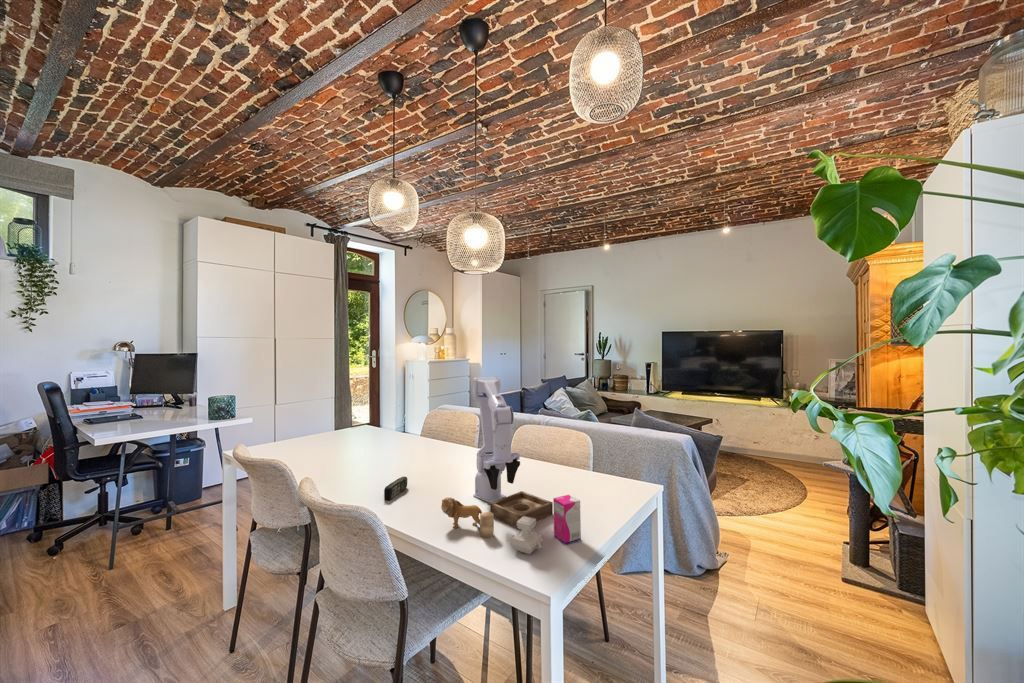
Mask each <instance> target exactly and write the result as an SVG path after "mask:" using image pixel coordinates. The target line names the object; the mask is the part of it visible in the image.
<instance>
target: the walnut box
mask: <svg viewBox="0 0 1024 683" xmlns="http://www.w3.org/2000/svg"><path fill="white" fill-rule="evenodd" d="M489 508H490V509H489V512H491V513H493V514H494V519H497V520H499V521H501V522H503V523H504V524H508V525H510V526H512V527H515V528H517V529H518V526H517V521H518V520H519V519H521V518H522V517H523V516H525V517H530V518H534V519H536V523H538V522H540V521H542V520H544V519H546V518H549V517H551V516H552V515H553V516H554V502H552V501H550V500H547V499H544V498H542V497H538V496H536V495H533V494H531V493H527V492H525V491H518V492H516V493H513V494H510V495H508V496H506V497H505V498H502V499H499V500H497V501H494V502H492V503H489ZM520 530H521V531H522V529H520Z"/></svg>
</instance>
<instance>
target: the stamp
mask: <svg viewBox="0 0 1024 683" xmlns="http://www.w3.org/2000/svg"><path fill="white" fill-rule="evenodd" d="M536 524H537V522H536V519H534V518H530V517H525V516H523V517H522V518H521V519H519V520H518V521H517V526H518V528H517V529H519V530H521V529H522V530H521V531H519V532H518V533H516V534H515V535H513V536H512V538H511V539H510V541H509V543H510V545H511V547H513V549H514V550H515V551H517V552H520V553H525V554H527V555H531V554H532V553H533V552H534V551H535V550H536V549H541V548H542V544H541V542H542V541H543V536H542V534H540V533H536V532H533V531H532V529H534V528H535V527H536Z"/></svg>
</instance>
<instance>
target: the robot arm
mask: <svg viewBox="0 0 1024 683" xmlns="http://www.w3.org/2000/svg"><path fill="white" fill-rule="evenodd" d="M500 391H501V380H500V378H499V377H498V376H495V377H494V376H493V377H490V376H488V377H487V376H486V377H474V378H472V397H473V400H474V401H475V402H476V403H478V408H479V413H480V424H481V433H482V434H481V435H482V444H483V445H482V447H480V449H478V450H477V452H476V470H477V473H476V474H475V478H474V494H473V495H472V496H473V497H475V498H478V499H479V500H481V501H484V502H487V503H489V504H490V503H492V502H495V501H498V500H500V499H503V498H505V497H507V495H505V494H503V493H502V475H503V472H504V471H505V470H506V481H507V483H509V484H514V481H515V478H516V474H517V471H518V469H519V467H520V466H521V461H519V460H520V455H521V454H520V452H519V453H518V452H513V453H512V425H513V424H514V419H515V418H514V414H515V413H514V410H513V406H509V405H508V404H507V403H506V400H505V398H504V396H503V395H501V394H500Z"/></svg>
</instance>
